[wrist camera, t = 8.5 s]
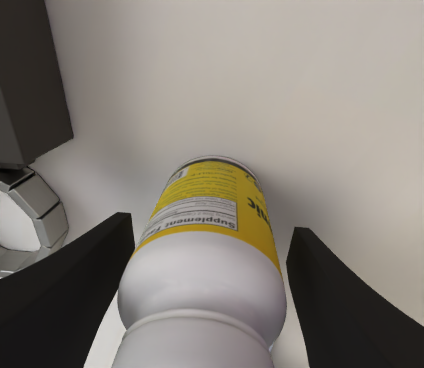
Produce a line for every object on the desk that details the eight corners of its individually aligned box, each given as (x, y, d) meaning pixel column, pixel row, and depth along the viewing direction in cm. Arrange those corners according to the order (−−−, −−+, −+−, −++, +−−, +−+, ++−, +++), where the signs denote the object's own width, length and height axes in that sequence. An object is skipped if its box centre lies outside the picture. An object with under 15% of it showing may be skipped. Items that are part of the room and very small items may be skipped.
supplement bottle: (262, 236, 15) (301, 481, 7) (173, 236, 16) (99, 463, 7) (265, 149, 13) (333, 361, 4) (159, 154, 13) (19, 348, 5)
